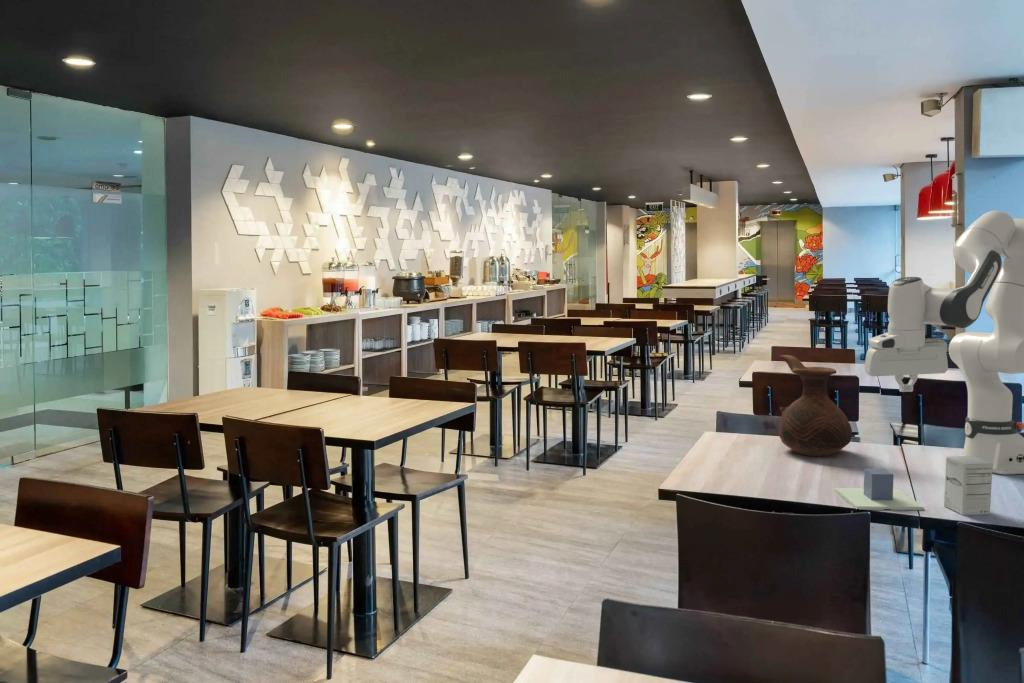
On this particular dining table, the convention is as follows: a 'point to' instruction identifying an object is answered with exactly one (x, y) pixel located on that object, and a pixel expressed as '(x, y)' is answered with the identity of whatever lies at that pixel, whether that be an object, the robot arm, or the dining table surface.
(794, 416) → the jug
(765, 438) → the dining table surface
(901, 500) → the post board
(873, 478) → the blue-grey block
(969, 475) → the supplement box
